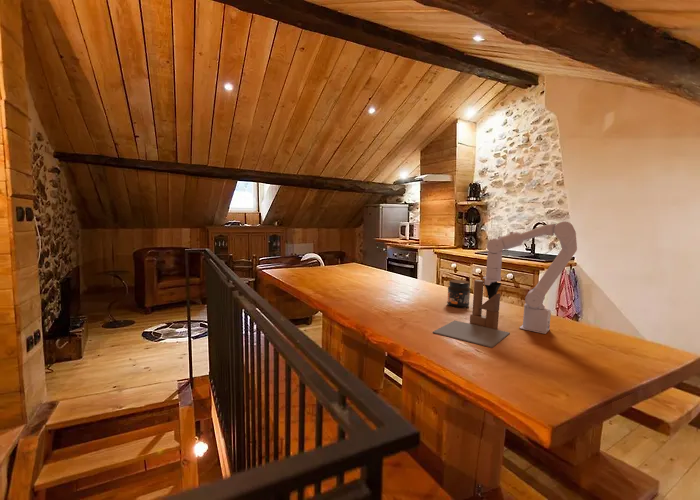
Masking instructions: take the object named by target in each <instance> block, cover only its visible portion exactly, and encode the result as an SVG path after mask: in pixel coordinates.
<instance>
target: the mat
mask: <svg viewBox="0 0 700 500" xmlns="http://www.w3.org/2000/svg"><path fill="white" fill-rule="evenodd" d="M432 334H436V335H439V336H443V337H447V338H451V339H455V340H458V341H463V342H468V343H471V344H475V345H479V346H483V347H487V348H490V349H492V348H494V347H495V346H496V345H498V344H499V343H500V342H501V341H502V340H504V339H505V338H506V337H508V336H509V335H510V334H511V333H510V332H509V331H505V330H500V329H492V328H487V327H483V326H480V325H476V324H473V323H470V322H464V321H460V320H453V321H451V322H449V323H447V324H445V325H443V326H441V327H440V328H438V329H435V330H433V331H432Z"/></svg>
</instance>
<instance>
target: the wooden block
mask: <svg viewBox="0 0 700 500" xmlns="http://www.w3.org/2000/svg"><path fill="white" fill-rule="evenodd" d="M484 282H485V280H481V279H475V280H474V283H473V284H474V285H473V299H472V313H471V314H470V315H469V324H473V325H478V326H483V327H487V328H492V329H496V330H498V327H499V315H500V304H501V303H500V302H501V293H497V294H495V295H494V296H493V297H491V298H490V299H487V301H485V302H484V303H483V298H484V297H483V296H484V286H485V285H484ZM483 310H485V315H483V314H482V313H483Z"/></svg>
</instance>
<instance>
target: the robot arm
mask: <svg viewBox="0 0 700 500" xmlns="http://www.w3.org/2000/svg"><path fill="white" fill-rule="evenodd" d="M554 235H555V237H556V238H557V239H558V240H559V243H560V247H561V249H560V251H559V253H558V254H557V255H556V256H555V258H554V259H553V261H552V262H551V263H550V265H549V266H548V268H547V269H546V271H545V272H544V274H543V275H542V276H541V278H540V279H539V281H538V282H537V283H536V285H535V286H534V287H533V288H532V289H530V290H529V291H528V292H527V294H526V295H525V297H524V302H525V303H524V305H523V316H522V317H523V318H522V325H520V326H519V329H520V330H525V331H530V332H535V333H538V334H539V333H540V334H543V335H544V334H547V333H548V332H549V331H550V330H551V329H550V327H551V316H552V315H551V313H552V311H551V310H550V309H547V308H545V306H544V300H545V298H546V295H547V293H548V292H549V290H550V289H551V287H552V286H553V285H554V283H555V282H556V280H557V279H558V278H559V276H560V275H561V273H562V272H563V271H564V269H565V268H566V267H567V265H568V264H569V262H570V261H571V260H572V258H573V256H574V255H575V254H576V252H577V250H578V241H577V233H576V230H575V227H574V225H573V224H572V223H571V222H568V221H560V222H558V223H557V222H555V223H549V224H545V225H542V226H539V227H536V228H533V229H530V230H528V231H525V232H522V233H520V232H518V231H513V230H512V231H509V233H507V234H506V235H502V236H500V235H499V236H497V238H492V239H490V240H489V241H487V244H486V249H487V257H486V268H485V269H486V270H485V272H486V273H485V276H483V277H482V279H483V280H484V286H485V289H486V291H487V293H486V294H487V298H488V299H487V300H489V299H490V298H491V297H493V296H494V295H495V294H498V290H499V289H500V287H501V286H502V283H501V280H502V264H503V250H504V251H507V250H509V249H513V248H516V247H519V246H522V245H523V242H525V241H527V240H528V241H529V240H530V239H531V240H532V239H535V238H538V237H541V236H551V237H552V236H554Z"/></svg>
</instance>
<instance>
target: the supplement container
mask: <svg viewBox="0 0 700 500" xmlns="http://www.w3.org/2000/svg"><path fill="white" fill-rule="evenodd" d="M448 284H449V286H448V287H447V301H446V303H447V305H448V306H450V307H452V308H458V309H465V308H468V307H469V306H470V298H471V296H470V295H471V288H470V287H471V286H470V281H468V280H462V279H451V280H449V281H448Z"/></svg>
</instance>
